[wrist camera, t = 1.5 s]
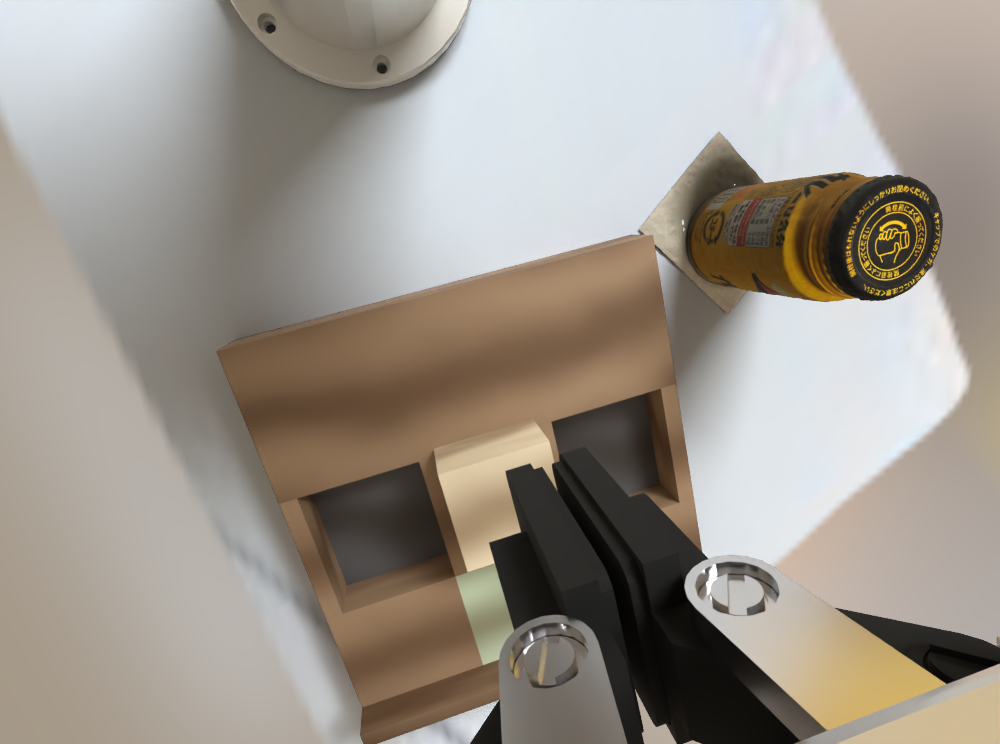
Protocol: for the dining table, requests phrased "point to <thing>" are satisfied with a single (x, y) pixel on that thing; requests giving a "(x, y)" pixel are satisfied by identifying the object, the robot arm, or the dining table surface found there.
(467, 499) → the maple block
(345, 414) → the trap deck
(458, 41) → the dining table surface
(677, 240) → the condiment
